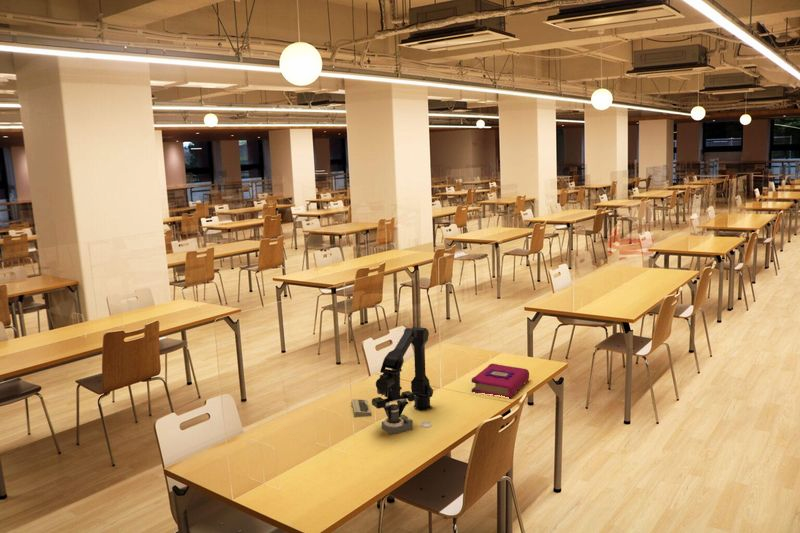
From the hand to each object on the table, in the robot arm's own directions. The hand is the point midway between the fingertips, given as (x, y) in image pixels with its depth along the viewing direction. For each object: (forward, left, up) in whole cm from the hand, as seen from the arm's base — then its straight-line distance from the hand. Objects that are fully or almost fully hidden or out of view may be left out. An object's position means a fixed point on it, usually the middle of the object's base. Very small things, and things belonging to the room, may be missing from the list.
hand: (393, 418), depth 296 cm
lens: (0, 0, -2) cm, 2 cm away
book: (-71, -18, -6) cm, 74 cm away
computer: (+3, -27, -6) cm, 28 cm away
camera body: (-1, 0, -5) cm, 5 cm away
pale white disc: (-14, +3, -6) cm, 16 cm away
